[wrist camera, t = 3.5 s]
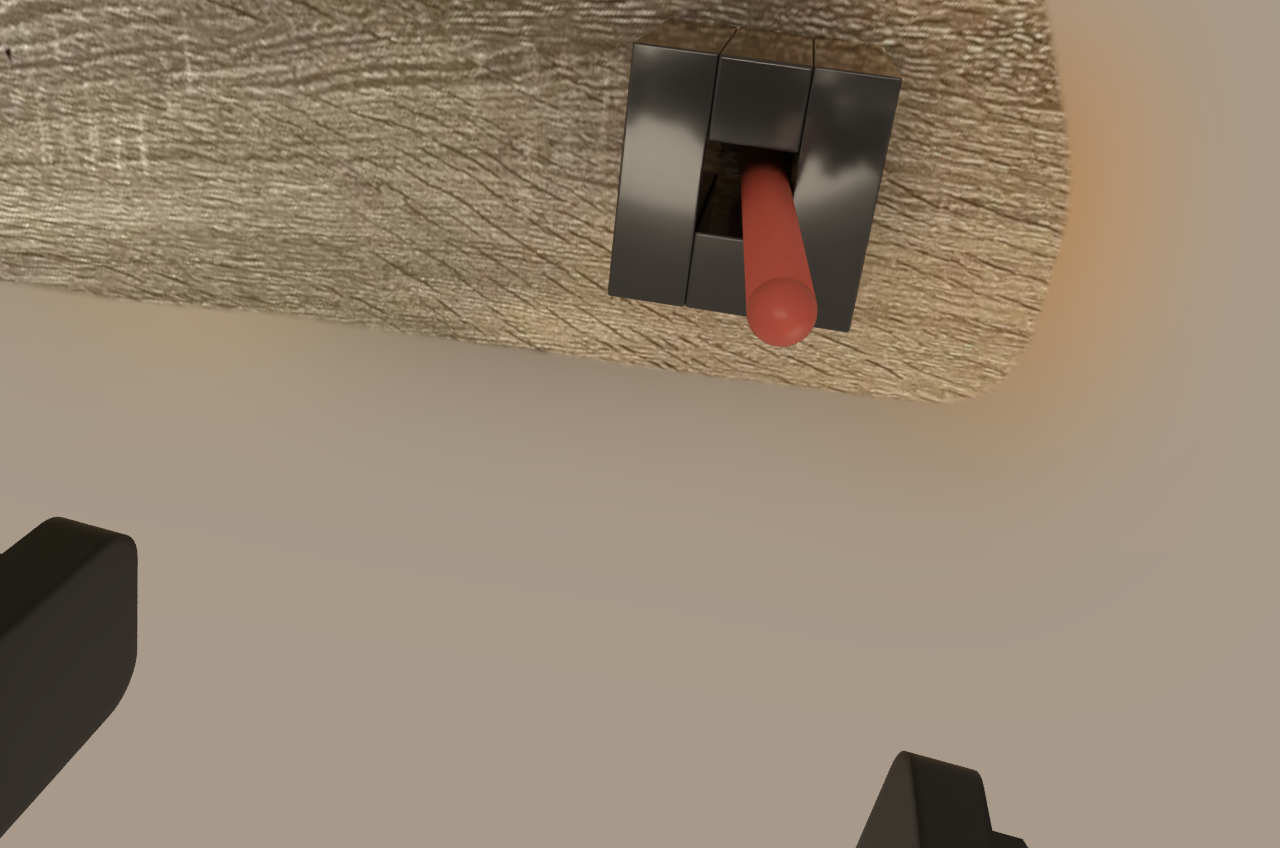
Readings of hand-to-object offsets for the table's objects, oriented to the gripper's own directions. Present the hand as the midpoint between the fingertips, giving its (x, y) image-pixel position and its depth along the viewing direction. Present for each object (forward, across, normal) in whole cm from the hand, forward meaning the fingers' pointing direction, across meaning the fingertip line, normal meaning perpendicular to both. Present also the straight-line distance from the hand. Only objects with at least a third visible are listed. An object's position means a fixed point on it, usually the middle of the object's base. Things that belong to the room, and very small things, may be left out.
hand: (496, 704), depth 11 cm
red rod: (+24, -1, -2) cm, 24 cm away
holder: (+24, -1, -2) cm, 24 cm away
